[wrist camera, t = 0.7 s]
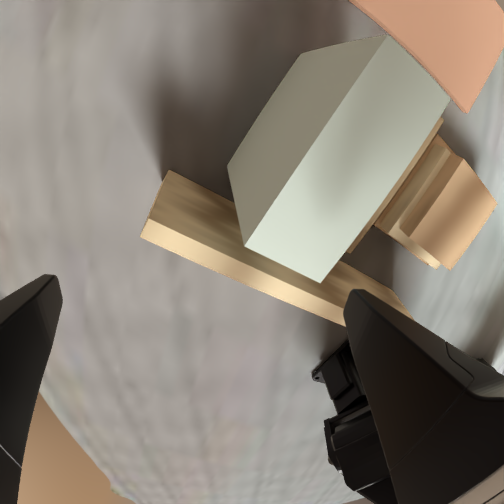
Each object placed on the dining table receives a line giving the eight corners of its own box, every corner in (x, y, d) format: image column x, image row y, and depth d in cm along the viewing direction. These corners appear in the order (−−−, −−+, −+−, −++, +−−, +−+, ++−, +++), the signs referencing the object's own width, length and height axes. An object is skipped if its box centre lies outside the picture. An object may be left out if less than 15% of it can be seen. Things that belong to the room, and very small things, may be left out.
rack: (476, 176, 23) (539, 213, 16) (385, 298, 28) (425, 358, 22) (278, -2, 15) (318, -43, 8) (162, 182, 21) (139, 236, 14)
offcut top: (486, 196, 22) (497, 203, 21) (440, 261, 25) (450, 270, 23) (451, 152, 20) (463, 158, 18) (399, 228, 22) (408, 237, 21)
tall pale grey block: (343, 83, 19) (451, 98, 9) (271, 190, 22) (320, 283, 13) (300, 53, 17) (388, 34, 8) (226, 165, 21) (244, 246, 11)
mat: (509, 26, 16) (513, 26, 15) (462, 112, 20) (467, 113, 20) (412, -81, 11) (416, -83, 11) (346, -2, 16) (349, -3, 15)
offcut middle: (476, 191, 23) (487, 198, 22) (427, 260, 26) (436, 269, 25) (435, 143, 21) (446, 148, 19) (379, 225, 24) (387, 233, 22)
